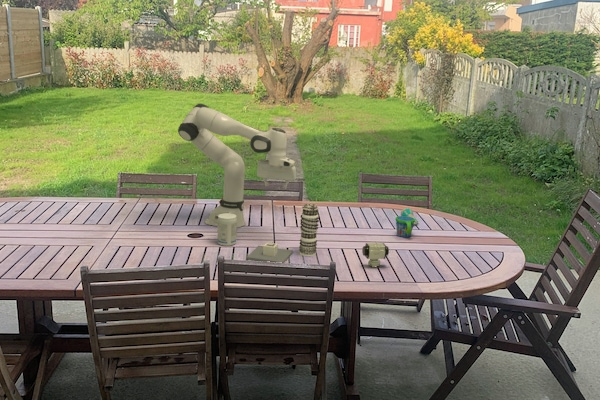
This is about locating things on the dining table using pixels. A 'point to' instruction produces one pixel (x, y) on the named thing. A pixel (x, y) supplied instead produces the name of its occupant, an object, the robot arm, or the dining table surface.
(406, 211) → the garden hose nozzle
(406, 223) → the snack cup
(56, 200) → the dining table surface
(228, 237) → the supplement tub
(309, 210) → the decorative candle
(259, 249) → the grey square panel
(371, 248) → the pneumatic valve
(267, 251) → the cream open box
